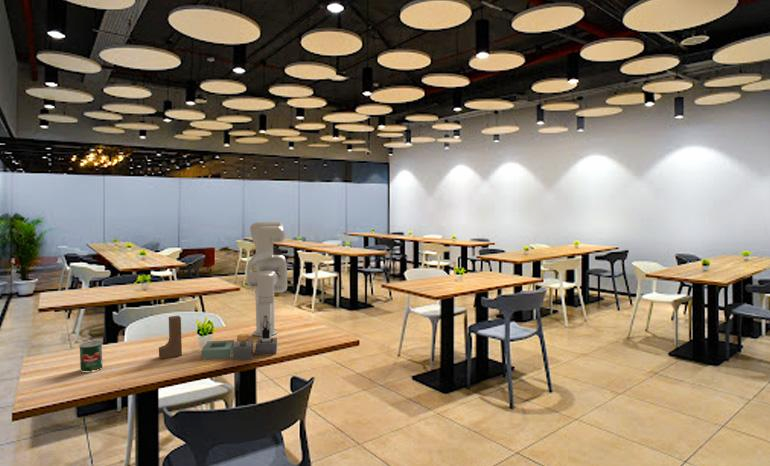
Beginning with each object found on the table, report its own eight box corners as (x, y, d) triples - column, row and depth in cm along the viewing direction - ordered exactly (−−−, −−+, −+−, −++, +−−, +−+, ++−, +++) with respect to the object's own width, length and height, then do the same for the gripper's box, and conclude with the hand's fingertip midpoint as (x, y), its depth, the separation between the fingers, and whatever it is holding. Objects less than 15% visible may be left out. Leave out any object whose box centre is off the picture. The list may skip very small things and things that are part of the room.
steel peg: (262, 350, 218) (262, 325, 217) (271, 349, 219) (271, 325, 218) (262, 353, 214) (261, 327, 213) (270, 352, 215) (270, 327, 214)
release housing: (235, 354, 212) (235, 341, 212) (253, 353, 213) (253, 340, 213) (232, 360, 204) (232, 347, 204) (251, 359, 206) (251, 346, 205)
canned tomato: (86, 374, 188) (85, 347, 187) (76, 370, 192) (75, 344, 191) (106, 368, 194) (105, 343, 194) (96, 364, 198) (95, 340, 198)
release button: (238, 353, 211) (237, 334, 210) (249, 352, 212) (249, 333, 211) (236, 357, 206) (236, 337, 205) (248, 356, 207) (247, 336, 206)
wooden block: (160, 359, 205) (159, 319, 204) (158, 356, 209) (157, 317, 208) (182, 355, 211) (180, 317, 209) (180, 353, 214) (178, 315, 213)
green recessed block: (208, 349, 219) (207, 341, 219) (234, 348, 221) (233, 339, 221) (201, 359, 206) (201, 350, 205) (229, 357, 208) (229, 348, 207)
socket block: (257, 348, 220) (257, 338, 220) (277, 347, 222) (276, 337, 221) (256, 355, 211) (255, 344, 211) (276, 353, 213) (275, 343, 212)
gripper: (259, 296, 223) (260, 331, 224) (255, 303, 206) (256, 341, 207) (275, 295, 224) (275, 330, 225) (273, 303, 207) (273, 340, 208)
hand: (266, 335), depth 216 cm, fingers open, 9 cm apart
